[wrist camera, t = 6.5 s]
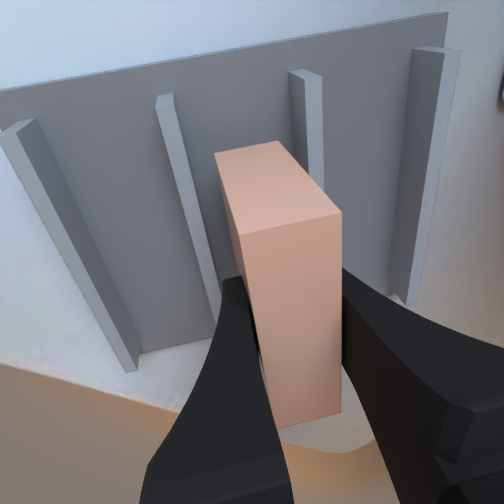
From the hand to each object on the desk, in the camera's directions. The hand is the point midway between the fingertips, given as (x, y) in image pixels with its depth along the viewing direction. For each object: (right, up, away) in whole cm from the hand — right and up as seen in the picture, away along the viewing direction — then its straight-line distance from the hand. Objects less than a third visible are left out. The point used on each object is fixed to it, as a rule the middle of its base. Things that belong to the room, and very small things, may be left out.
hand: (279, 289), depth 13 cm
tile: (-1, +2, +3) cm, 3 cm away
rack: (-1, +3, +5) cm, 6 cm away
